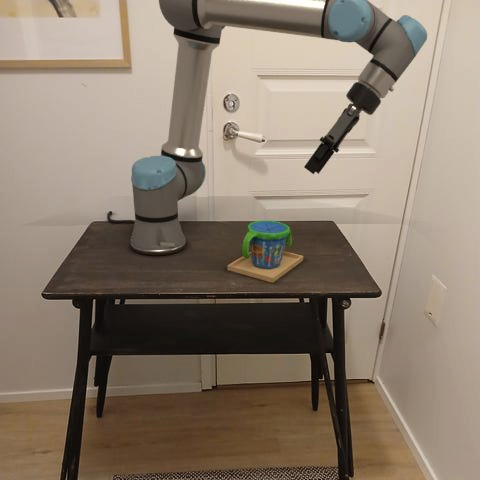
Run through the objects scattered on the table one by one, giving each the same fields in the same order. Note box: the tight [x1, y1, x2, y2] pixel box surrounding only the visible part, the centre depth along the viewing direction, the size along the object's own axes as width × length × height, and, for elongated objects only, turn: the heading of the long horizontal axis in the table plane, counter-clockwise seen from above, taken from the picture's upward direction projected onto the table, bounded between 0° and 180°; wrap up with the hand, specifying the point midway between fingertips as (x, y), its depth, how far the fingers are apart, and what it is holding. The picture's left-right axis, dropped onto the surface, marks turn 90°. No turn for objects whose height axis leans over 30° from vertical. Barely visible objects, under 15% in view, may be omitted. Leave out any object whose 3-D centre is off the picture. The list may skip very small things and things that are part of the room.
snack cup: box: [241, 220, 293, 269], centre depth 125 cm, size 16×10×10 cm
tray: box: [226, 250, 304, 284], centre depth 127 cm, size 13×17×1 cm
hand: (311, 170), depth 118 cm, fingers open, 13 cm apart
